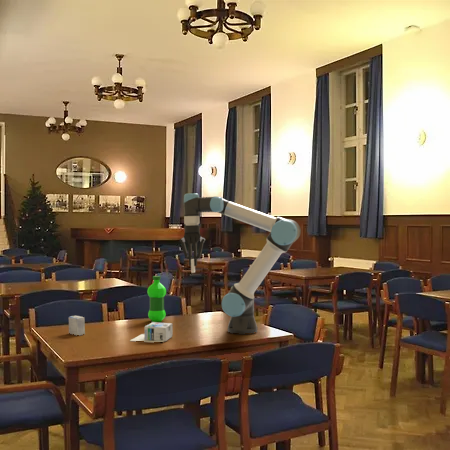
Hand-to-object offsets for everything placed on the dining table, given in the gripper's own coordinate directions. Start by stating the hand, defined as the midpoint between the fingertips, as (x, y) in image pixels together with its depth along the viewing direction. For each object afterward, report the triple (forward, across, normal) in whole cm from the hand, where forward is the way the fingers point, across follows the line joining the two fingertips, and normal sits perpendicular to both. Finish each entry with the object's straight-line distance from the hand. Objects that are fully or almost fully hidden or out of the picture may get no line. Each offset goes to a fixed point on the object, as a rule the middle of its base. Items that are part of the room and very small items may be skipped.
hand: (193, 272), depth 284 cm
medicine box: (+30, +58, +8) cm, 66 cm away
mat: (+30, +19, +12) cm, 38 cm away
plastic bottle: (+30, +28, -31) cm, 52 cm away
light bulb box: (+27, +9, +13) cm, 31 cm away
